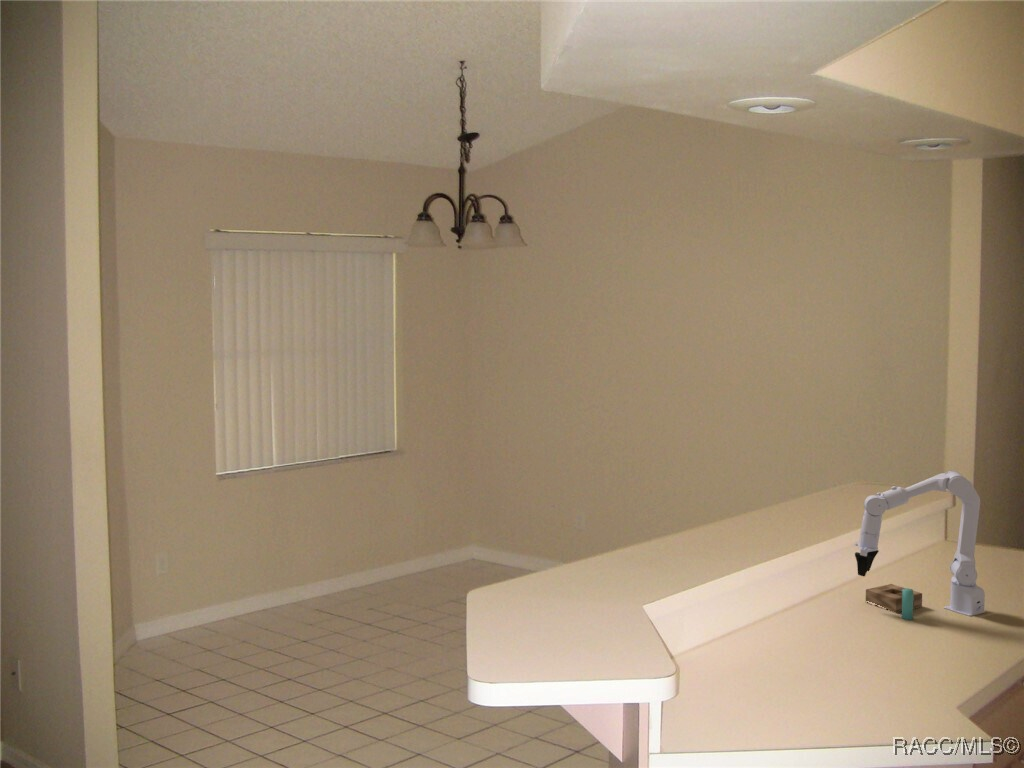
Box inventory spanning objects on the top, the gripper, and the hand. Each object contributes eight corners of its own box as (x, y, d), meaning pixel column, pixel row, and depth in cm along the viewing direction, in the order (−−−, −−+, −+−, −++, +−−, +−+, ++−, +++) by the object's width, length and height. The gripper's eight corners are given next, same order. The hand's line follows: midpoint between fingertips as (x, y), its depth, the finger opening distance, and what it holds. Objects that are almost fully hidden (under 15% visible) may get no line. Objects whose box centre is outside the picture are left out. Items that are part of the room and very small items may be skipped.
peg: (915, 618, 291) (915, 590, 290) (908, 620, 289) (908, 592, 288) (906, 616, 293) (907, 587, 293) (899, 617, 292) (899, 589, 291)
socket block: (921, 607, 302) (922, 593, 301) (896, 613, 296) (896, 599, 296) (891, 597, 312) (891, 583, 312) (865, 602, 307) (865, 589, 306)
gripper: (861, 525, 312) (854, 565, 314) (853, 533, 299) (846, 574, 301) (883, 530, 309) (877, 570, 310) (876, 538, 296) (869, 580, 298)
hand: (863, 573), depth 305 cm, fingers open, 7 cm apart
